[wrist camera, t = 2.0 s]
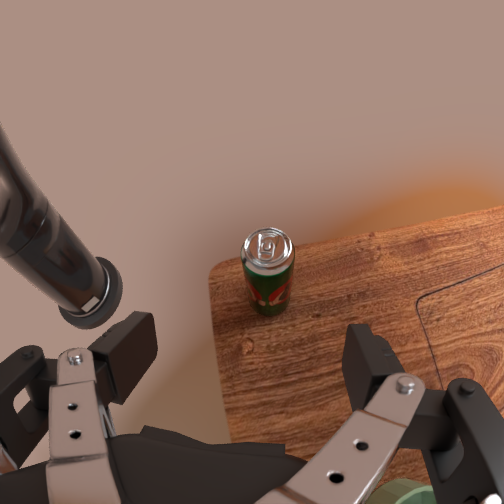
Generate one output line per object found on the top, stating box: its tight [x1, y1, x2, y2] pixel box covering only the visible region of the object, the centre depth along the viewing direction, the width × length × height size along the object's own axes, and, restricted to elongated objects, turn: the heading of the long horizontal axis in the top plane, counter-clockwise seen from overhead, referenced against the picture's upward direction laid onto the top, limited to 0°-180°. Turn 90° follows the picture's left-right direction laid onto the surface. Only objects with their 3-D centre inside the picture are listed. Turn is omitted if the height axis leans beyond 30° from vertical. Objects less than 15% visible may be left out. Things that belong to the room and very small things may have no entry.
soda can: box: [241, 227, 295, 316], centre depth 32 cm, size 5×5×12 cm
